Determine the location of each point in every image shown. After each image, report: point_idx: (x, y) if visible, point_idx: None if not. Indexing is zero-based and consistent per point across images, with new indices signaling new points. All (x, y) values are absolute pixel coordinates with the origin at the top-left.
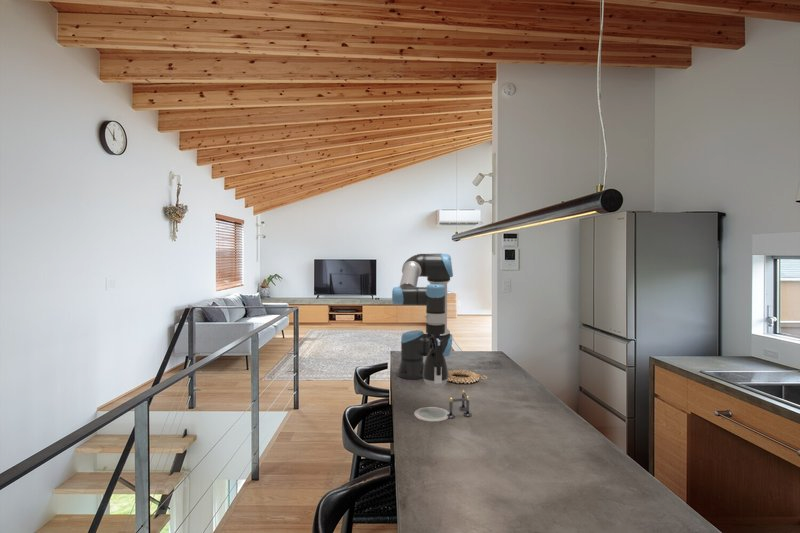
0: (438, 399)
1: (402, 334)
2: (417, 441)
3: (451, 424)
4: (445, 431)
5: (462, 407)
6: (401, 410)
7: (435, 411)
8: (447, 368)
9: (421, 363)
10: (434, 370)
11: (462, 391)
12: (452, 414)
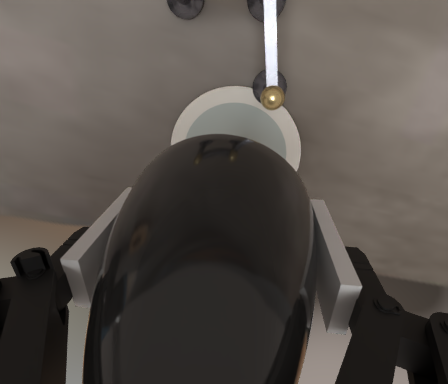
0: (73, 88)
1: None
2: (427, 239)
3: (341, 105)
4: (393, 144)
5: (188, 2)
6: None
7: None
8: (239, 171)
9: None
10: (320, 300)
11: None
12: (260, 77)
